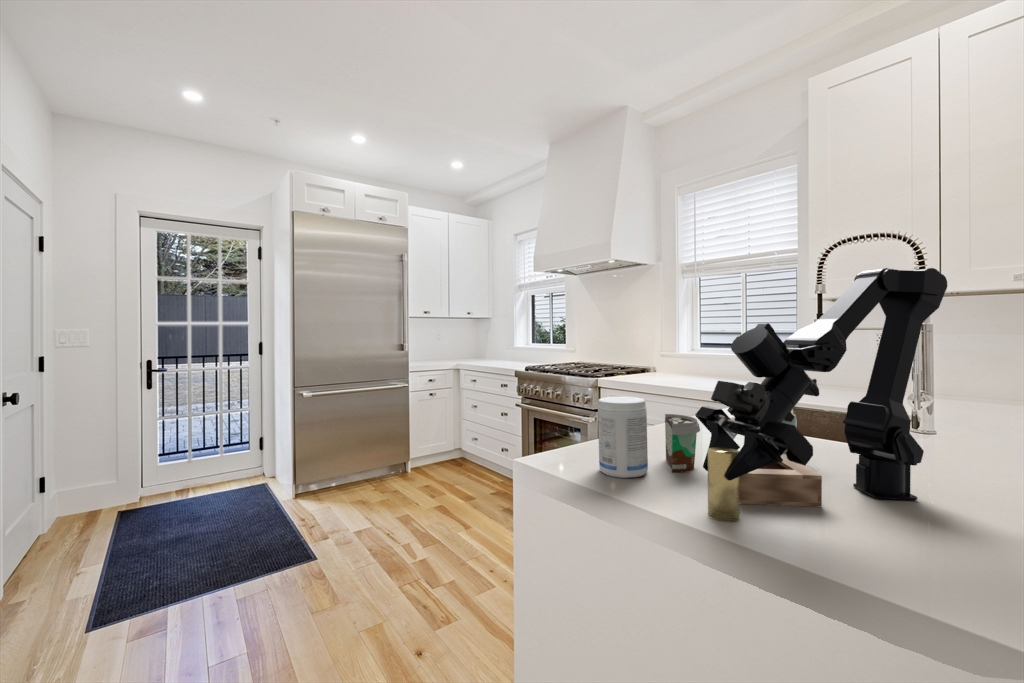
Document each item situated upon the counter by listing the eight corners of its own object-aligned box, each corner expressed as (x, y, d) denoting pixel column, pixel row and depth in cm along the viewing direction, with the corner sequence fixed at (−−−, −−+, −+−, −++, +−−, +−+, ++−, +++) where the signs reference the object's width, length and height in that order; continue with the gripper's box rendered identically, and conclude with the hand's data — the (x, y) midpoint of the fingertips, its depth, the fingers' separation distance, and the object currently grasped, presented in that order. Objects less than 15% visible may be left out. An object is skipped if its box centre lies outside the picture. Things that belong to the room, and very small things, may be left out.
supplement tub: (645, 466, 97) (644, 396, 96) (650, 480, 87) (649, 403, 87) (598, 464, 98) (597, 395, 98) (598, 478, 89) (597, 402, 89)
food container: (706, 476, 89) (706, 425, 89) (672, 474, 91) (672, 424, 90) (694, 459, 101) (694, 414, 101) (665, 458, 103) (664, 413, 102)
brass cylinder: (733, 510, 72) (733, 447, 72) (744, 522, 68) (743, 454, 68) (704, 509, 73) (704, 446, 73) (712, 520, 68) (712, 453, 68)
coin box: (785, 480, 86) (785, 454, 86) (821, 506, 73) (821, 475, 73) (712, 478, 88) (712, 452, 88) (735, 503, 75) (735, 473, 75)
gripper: (704, 359, 80) (648, 426, 77) (796, 366, 62) (727, 454, 59) (742, 402, 82) (689, 469, 79) (842, 421, 64) (777, 509, 61)
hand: (715, 473), depth 70 cm, fingers closed on brass cylinder, 4 cm apart
